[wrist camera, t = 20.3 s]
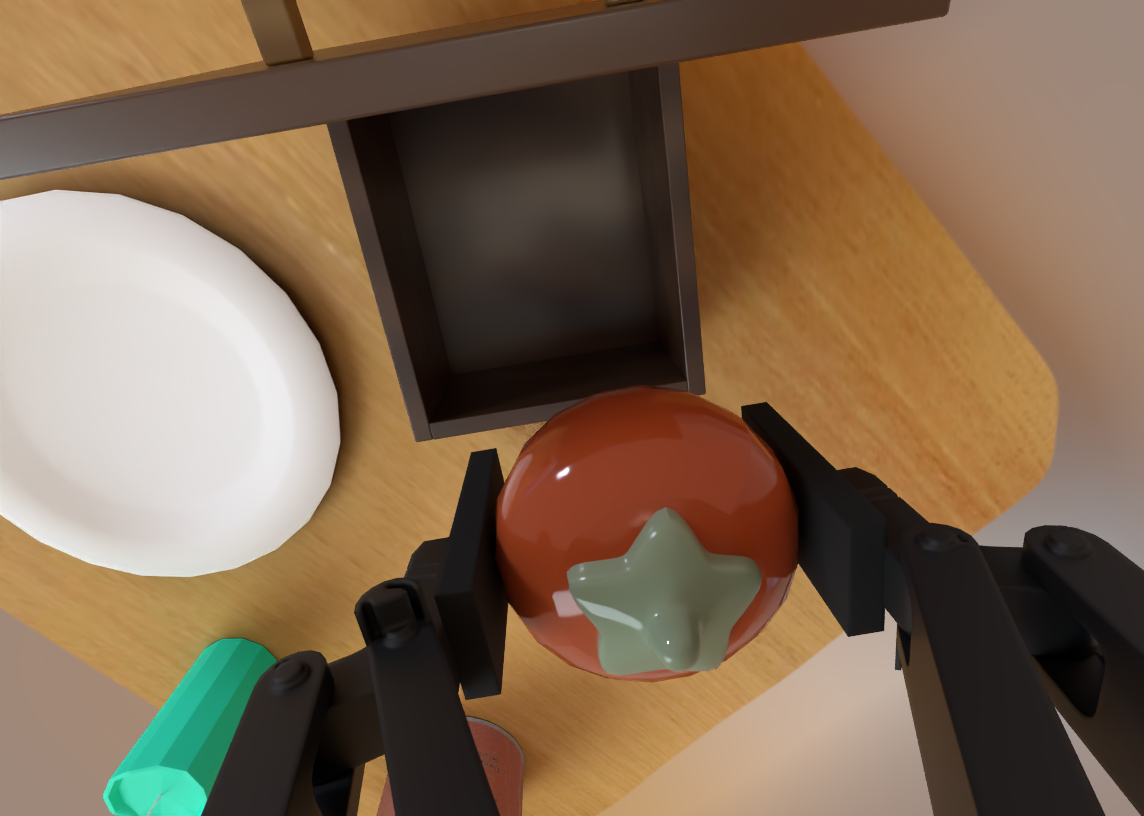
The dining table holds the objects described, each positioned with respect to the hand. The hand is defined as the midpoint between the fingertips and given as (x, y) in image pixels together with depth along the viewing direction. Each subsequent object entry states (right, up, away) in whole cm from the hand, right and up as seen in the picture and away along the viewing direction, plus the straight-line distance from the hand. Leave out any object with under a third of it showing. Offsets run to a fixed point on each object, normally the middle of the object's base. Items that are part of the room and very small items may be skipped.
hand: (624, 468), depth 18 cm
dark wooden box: (-4, +12, +17) cm, 21 cm away
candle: (-27, -18, +28) cm, 43 cm away
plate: (-29, +2, +20) cm, 35 cm away
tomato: (0, 0, 0) cm, 0 cm away
